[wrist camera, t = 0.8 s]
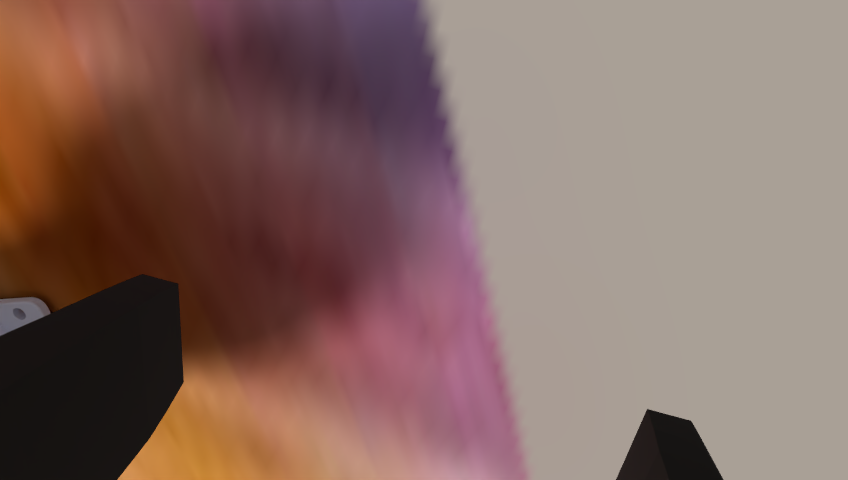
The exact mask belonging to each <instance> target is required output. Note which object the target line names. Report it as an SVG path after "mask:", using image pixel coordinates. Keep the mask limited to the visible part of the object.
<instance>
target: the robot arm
mask: <svg viewBox="0 0 848 480" xmlns="http://www.w3.org/2000/svg"><path fill="white" fill-rule="evenodd" d="M22 310H23V311H24V312H23V311H22ZM183 382H184V381H183V363H182V344H181V326H180V308H179V289H178V284H177V283H173V282H170V281H166V280H162V279H158V278H155V277H151V276H147V275H144V274H142V275H139V276H136V277H134V278H131V279H129V280H126V281H124V282H121V283H119V284H117V285H114V286H112V287H110V288H107V289H105V290H103V291H100V292H98V293H96V294H94V295H91V296H89V297H87V298H85V299H82V300H80V301H78V302H76V303H73V304H71V305H69V306H67V307H65V308H62V309H60V310H58V311H56V312H53V313H50V311H49V309H48V307H47V305H46V304H45V303H44V302H43V301H42V300H40V299H38V298H35V297H24V298H10V299H0V480H117V479H118V478H119V477H120V475H121V474H122V473H123V472H124V470H125V469H126V468H127V466H128V465H129V464H130V463H131V461H132V460H133V459H134V458H135V456H136V455H137V454H138V453H139V451H140V450H141V449H142V447H143V446H144V445H145V443H146V442H147V441H148V440H149V438H150V437H151V435H152V434H153V432H154V430H155V429H156V427H157V426H158V424H159V422H160V421H161V419H162V418H163V416H164V415H165V413H166V411H167V410H168V408H169V406H170V404H171V403H172V401H173V399H174V398H175V396H176V394H177V393H178V391H179V389H180V387H181V386H182V384H183ZM616 480H723V478H722V476H721V474H720V473H719V471H718V469H717V467H716V465H715V463H714V462H713V460H712V458H711V456H710V454H709V452H708V451H707V449H706V447H705V445H704V443H703V441H702V439H701V437H700V436H699V434H698V432H697V430H696V429H695V427H694V425H693V423H692V422H691V421H689V420H685V419H682V418H678V417H674V416H671V415H667V414H663V413H659V412H656V411H652V410H648V409H647V411H646V413H645V416H644V418H643V420H642V422H641V424H640V427H639V429H638V431H637V434H636V436H635V438H634V440H633V443H632V445H631V447H630V450H629V452H628V454H627V456H626V459H625V461H624V463H623V465H622V468H621V470H620V472H619V475H618V477H617V479H616Z"/></svg>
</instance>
